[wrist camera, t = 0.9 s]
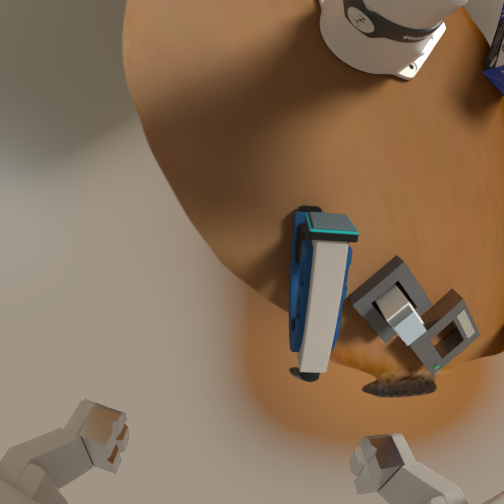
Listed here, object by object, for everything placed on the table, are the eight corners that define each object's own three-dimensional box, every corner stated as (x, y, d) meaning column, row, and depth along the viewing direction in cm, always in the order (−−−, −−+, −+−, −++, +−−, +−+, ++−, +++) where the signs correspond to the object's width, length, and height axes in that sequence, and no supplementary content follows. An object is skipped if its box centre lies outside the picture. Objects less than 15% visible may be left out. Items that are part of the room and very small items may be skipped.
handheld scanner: (328, 193, 39) (362, 225, 21) (317, 298, 44) (330, 387, 26) (295, 191, 40) (302, 220, 21) (287, 296, 45) (284, 385, 26)
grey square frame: (396, 255, 41) (403, 261, 38) (425, 296, 42) (432, 304, 40) (348, 296, 44) (352, 305, 41) (380, 333, 45) (385, 343, 42)
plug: (390, 278, 42) (414, 308, 33) (405, 298, 43) (429, 330, 33) (371, 294, 43) (390, 328, 34) (387, 313, 44) (406, 348, 35)
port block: (452, 288, 41) (464, 299, 37) (470, 324, 43) (480, 335, 39) (401, 332, 45) (409, 346, 41) (424, 363, 47) (432, 376, 43)
